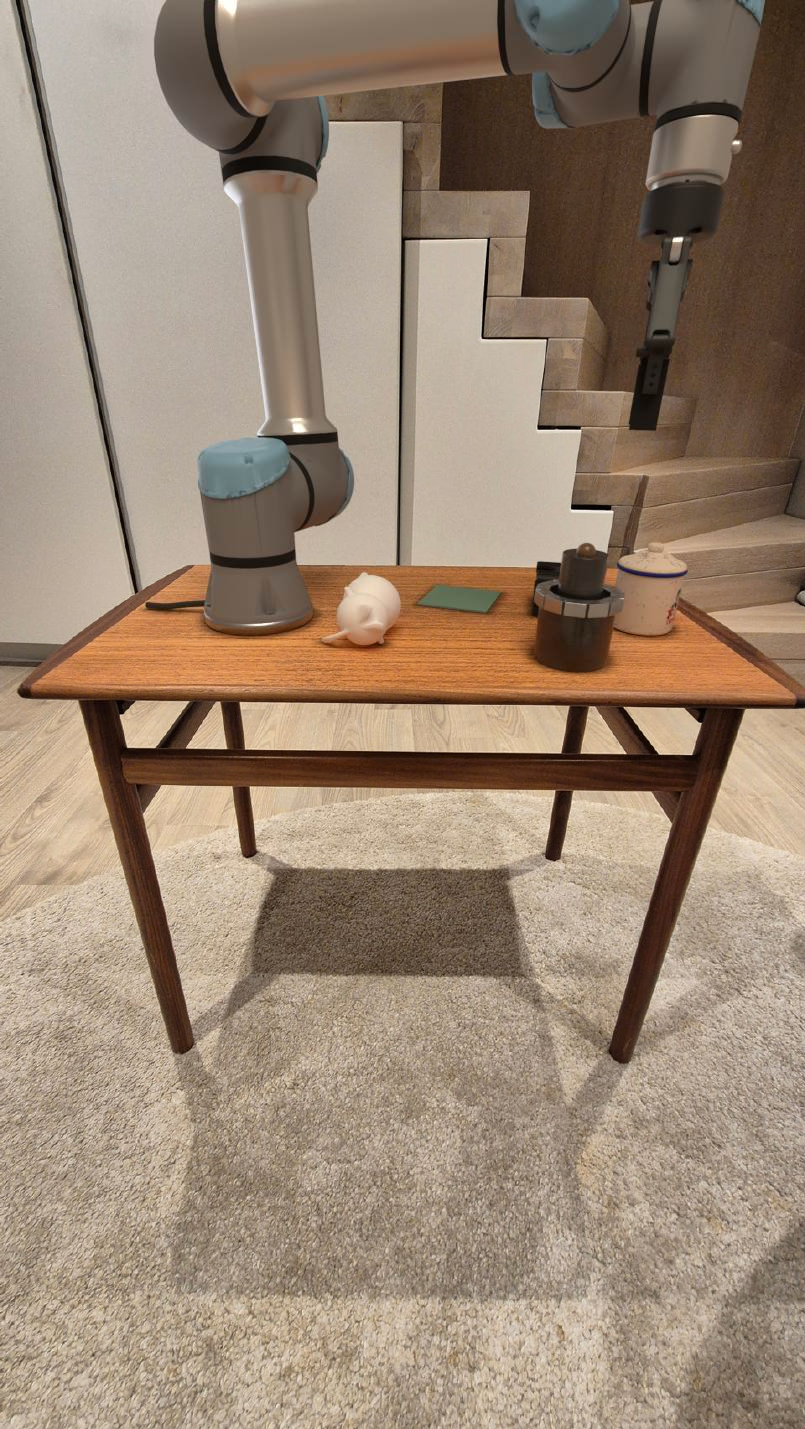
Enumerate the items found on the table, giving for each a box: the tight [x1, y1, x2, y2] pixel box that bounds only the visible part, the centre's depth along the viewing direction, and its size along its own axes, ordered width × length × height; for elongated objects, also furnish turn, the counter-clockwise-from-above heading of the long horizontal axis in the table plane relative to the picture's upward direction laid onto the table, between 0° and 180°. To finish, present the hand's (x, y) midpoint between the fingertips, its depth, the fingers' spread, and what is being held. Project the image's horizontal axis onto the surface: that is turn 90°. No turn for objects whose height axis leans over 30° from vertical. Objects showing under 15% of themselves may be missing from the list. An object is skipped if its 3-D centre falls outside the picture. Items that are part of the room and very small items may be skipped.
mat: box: [416, 584, 502, 614], centre depth 96 cm, size 11×11×1 cm
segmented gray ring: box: [534, 580, 625, 618], centre depth 72 cm, size 10×10×2 cm
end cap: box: [531, 560, 561, 618], centre depth 91 cm, size 10×7×7 cm
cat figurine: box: [321, 571, 402, 646], centre depth 79 cm, size 9×11×12 cm
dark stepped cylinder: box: [532, 542, 616, 673], centre depth 72 cm, size 9×9×14 cm
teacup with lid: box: [613, 541, 689, 637], centre depth 84 cm, size 12×9×12 cm
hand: (640, 427), depth 69 cm, fingers open, 13 cm apart
